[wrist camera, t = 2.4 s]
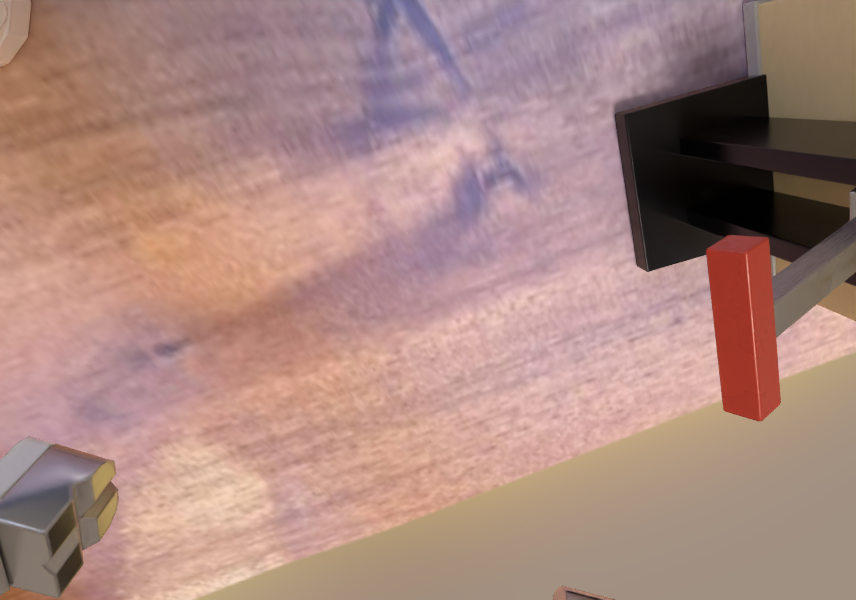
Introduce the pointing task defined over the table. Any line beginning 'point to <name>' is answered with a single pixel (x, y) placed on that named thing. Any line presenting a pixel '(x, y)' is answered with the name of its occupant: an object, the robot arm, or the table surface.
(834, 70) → the toaster
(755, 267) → the lever
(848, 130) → the bracket
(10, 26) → the white cup
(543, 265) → the table surface
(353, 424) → the table surface
